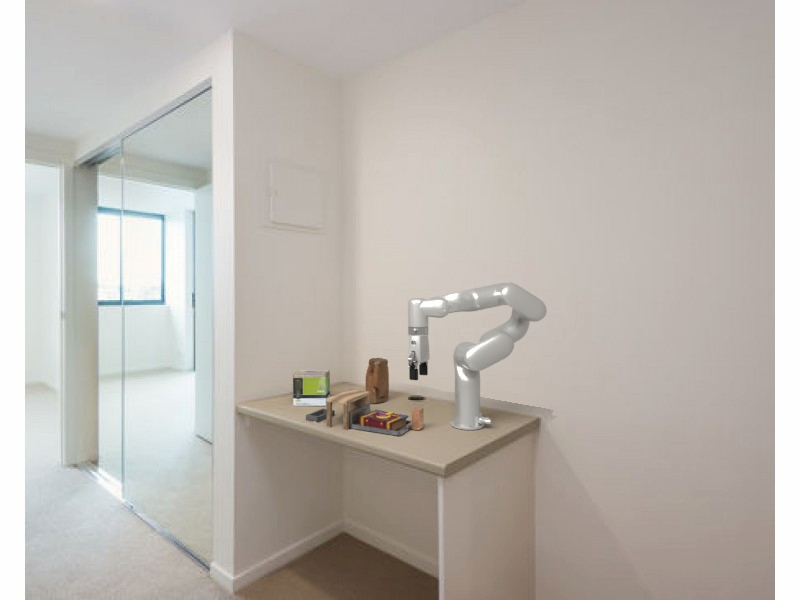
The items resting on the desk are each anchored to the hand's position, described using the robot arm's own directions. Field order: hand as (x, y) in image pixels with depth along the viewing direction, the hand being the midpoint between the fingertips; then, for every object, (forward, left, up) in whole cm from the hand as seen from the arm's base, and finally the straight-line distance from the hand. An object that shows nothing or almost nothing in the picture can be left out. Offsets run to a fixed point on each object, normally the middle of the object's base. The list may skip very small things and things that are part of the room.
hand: (418, 377), depth 157 cm
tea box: (+58, -11, -19) cm, 62 cm away
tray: (+11, +5, -18) cm, 22 cm away
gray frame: (+41, +5, -19) cm, 45 cm away
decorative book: (+13, +5, -19) cm, 24 cm away
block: (+33, -27, -19) cm, 46 cm away
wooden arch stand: (+27, +5, -19) cm, 33 cm away
